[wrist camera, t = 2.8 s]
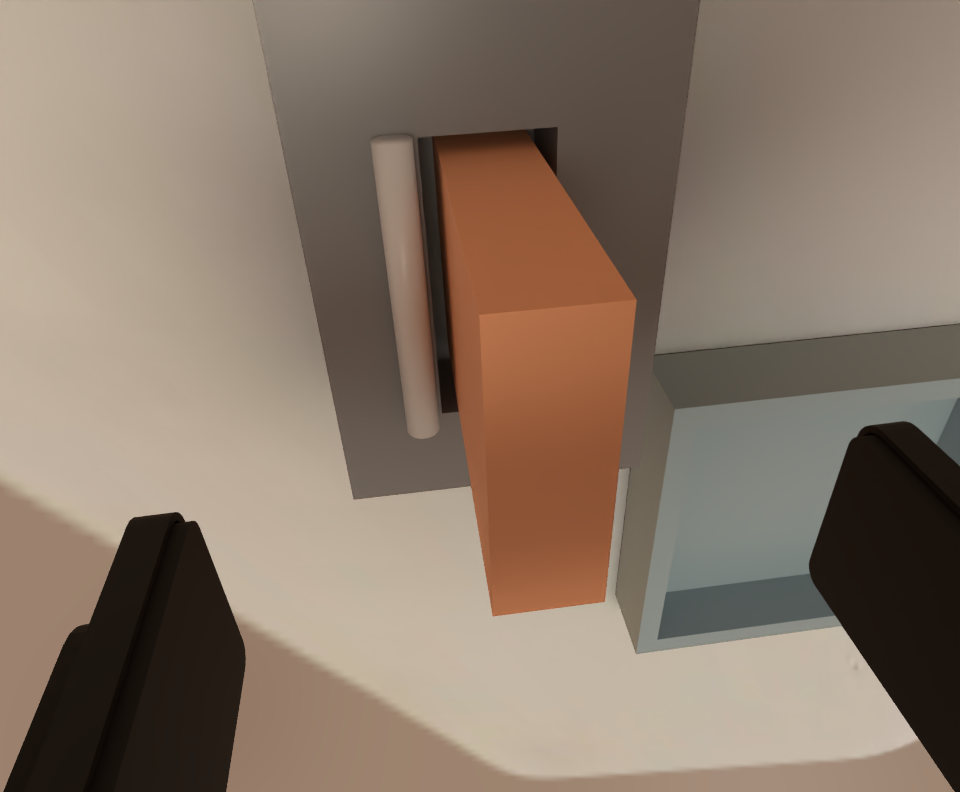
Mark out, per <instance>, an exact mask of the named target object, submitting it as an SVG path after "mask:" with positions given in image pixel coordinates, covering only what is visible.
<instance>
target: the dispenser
mask: <svg viewBox="0 0 960 792" xmlns="http://www.w3.org/2000/svg"><path fill="white" fill-rule="evenodd" d="M699 4H700V0H253V5H254V10H255V15H256V20H257V25H258V30H259V35H260V40H261V45H262V50H263V55H264V60H265V64H266V69H267V74H268V79H269V84H270V89H271V94H272V99H273V104H274V109H275V114H276V119H277V124H278V129H279V134H280V139H281V143H282V148H283V153H284V158H285V163H286V168H287V173H288V178H289V183H290V188H291V193H292V198H293V203H294V208H295V213H296V218H297V222H298V227H299V232H300V237H301V242H302V247H303V252H304V257H305V262H306V267H307V272H308V277H309V282H310V287H311V292H312V297H313V301H314V306H315V311H316V316H317V321H318V326H319V331H320V336H321V341H322V346H323V351H324V356H325V361H326V366H327V371H328V376H329V380H330V385H331V390H332V395H333V400H334V405H335V410H336V415H337V420H338V425H339V430H340V435H341V440H342V445H343V450H344V455H345V459H346V464H347V469H348V474H349V479H350V484H351V489H352V494H353V499H363V498H371V497H380V496H389V495H397V494H406V493H415V492H423V491H432V490H441V489H449V488H458V487H467V486H471V482H470V476H469V470H468V464H467V458H466V452H465V446H464V440H463V434H462V428H461V422H460V416H459V410H458V404H457V398H456V392H455V386H454V380H453V374H452V368H451V362H450V356H449V350H448V340H447V327H446V314H445V301H444V288H443V275H442V263H441V250H440V237H439V224H438V211H437V198H436V185H435V172H434V159H433V147H432V136H444V135H457V134H471V133H484V132H497V131H510V130H524V129H525V130H526V131H527V133H528V134H529V136H530V138H531V139H532V141H533V142H534V144H535V145H536V147H537V148H538V150H539V151H540V153H541V154H542V156H543V157H544V159H545V160H546V162H547V164H548V165H549V167H550V168H551V170H552V171H553V173H554V174H555V176H556V177H557V179H558V180H559V182H560V183H561V185H562V186H563V188H564V190H565V191H566V193H567V194H568V196H569V197H570V199H571V200H572V202H573V203H574V205H575V206H576V208H577V209H578V211H579V212H580V214H581V215H582V217H583V219H584V220H585V222H586V223H587V225H588V226H589V228H590V229H591V231H592V232H593V234H594V235H595V237H596V238H597V240H598V241H599V243H600V245H601V246H602V248H603V249H604V251H605V252H606V254H607V255H608V257H609V258H610V260H611V261H612V263H613V264H614V266H615V267H616V269H617V271H618V272H619V274H620V275H621V277H622V278H623V280H624V281H625V283H626V284H627V286H628V287H629V289H630V290H631V292H632V293H633V295H634V297H635V298H636V300H637V302H636V311H635V321H634V330H633V340H632V349H631V359H630V368H629V378H628V387H627V396H626V406H625V415H624V425H623V434H622V444H621V453H620V463H619V469H623V468H632V467H640V461H641V454H642V446H643V438H644V430H645V423H646V415H647V407H648V399H649V391H650V384H651V376H652V368H653V360H654V353H655V345H656V337H657V329H658V322H659V314H660V306H661V298H662V291H663V283H664V275H665V267H666V260H667V252H668V244H669V236H670V229H671V221H672V213H673V205H674V198H675V190H676V182H677V174H678V167H679V159H680V151H681V143H682V135H683V128H684V120H685V112H686V104H687V97H688V89H689V81H690V73H691V66H692V58H693V50H694V42H695V35H696V27H697V19H698V11H699Z"/></svg>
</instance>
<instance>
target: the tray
mask: <svg viewBox="0 0 960 792" xmlns="http://www.w3.org/2000/svg"><path fill="white" fill-rule="evenodd" d="M901 421H906V422H910V423H912V424H914V425H915V426H917V427H918V428H919V429H920V430H921V431H922V432H923V433H924V434H925V435H926V436H928V437H929V438H930V439H931V440H932V441H933V442H934V443H935V444H936V445H937V446H938V447H940V448H941V449H942V450H943V451H944V452H945V453H946V454H947V455H948V456H949V457H950V458H952V459H953V460H954V461H955V462H956V463H957V464H958V465H959V466H960V324H957V325H947V326H937V327H928V328H918V329H908V330H898V331H889V332H879V333H869V334H859V335H850V336H840V337H830V338H820V339H811V340H801V341H791V342H781V343H772V344H762V345H752V346H742V347H733V348H723V349H713V350H703V351H694V352H684V353H674V354H664V355H655V356H654V360H653V368H652V376H651V384H650V391H649V399H648V407H647V415H646V423H645V430H644V438H643V446H642V454H641V461H640V467H632V468H631V469H630V477H629V486H628V494H627V503H626V511H625V519H624V528H623V536H622V545H621V553H620V562H619V570H618V578H617V587H616V597H617V600H618V603H619V606H620V609H621V612H622V615H623V618H624V620H625V623H626V626H627V629H628V632H629V635H630V638H631V641H632V644H633V646H634V649H635V652H636V654H640V653H647V652H654V651H662V650H669V649H676V648H684V647H691V646H698V645H706V644H713V643H720V642H728V641H735V640H742V639H750V638H757V637H764V636H772V635H779V634H786V633H793V632H801V631H808V630H815V629H823V628H830V627H837V626H842V625H841V624H840V622H839V621H838V619H837V618H836V616H835V615H834V613H833V612H832V610H831V609H830V607H829V606H828V604H827V603H826V601H825V600H824V598H823V597H822V596H821V594H820V593H819V591H818V590H817V588H816V587H815V585H814V583H813V581H812V579H811V576H810V572H809V560H810V557H811V554H812V551H813V548H814V545H815V542H816V539H817V536H818V533H819V530H820V527H821V524H822V521H823V518H824V515H825V512H826V509H827V506H828V503H829V501H830V498H831V495H832V492H833V489H834V486H835V483H836V480H837V477H838V474H839V471H840V468H841V465H842V462H843V459H844V456H845V453H846V450H847V447H848V444H849V443H850V441H851V440H852V439H853V438H855V437H857V435H858V433H859V432H860V430H861V429H862V428H864V427H865V426H869V425H877V424H885V423H893V422H901Z"/></svg>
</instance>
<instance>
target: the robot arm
mask: <svg viewBox="0 0 960 792" xmlns="http://www.w3.org/2000/svg"><path fill="white" fill-rule="evenodd" d="M809 572H810V576H811V579H812V581H813V583H814V585H815V587H816V588H817V590H818V591H819V593H820V594H821V596H822V597H823V598H824V600H825V601H826V603H827V604H828V606H829V607H830V609H831V610H832V612H833V613H834V615H835V616H836V618H837V619H838V621H839V622H840V624H841V625H842V626H843V628H844V629H845V631H846V632H847V634H848V635H849V637H850V638H851V640H852V641H853V643H854V644H855V646H856V647H857V649H858V650H859V652H860V653H861V654H862V656H863V657H864V659H865V660H866V662H867V663H868V665H869V666H870V668H871V669H872V671H873V672H874V674H875V675H876V677H877V678H878V680H879V681H880V683H881V684H882V685H883V687H884V688H885V690H886V691H887V693H888V694H889V696H890V697H891V699H892V700H893V702H894V703H895V705H896V706H897V708H898V709H899V711H900V712H901V713H902V715H903V716H904V718H905V719H906V721H907V722H908V724H909V725H910V727H911V728H912V730H913V731H914V733H915V734H916V736H917V737H918V739H919V740H920V741H921V743H922V744H923V746H924V747H925V749H926V750H927V752H928V753H929V755H930V756H931V758H932V759H933V760H934V762H935V764H936V765H937V767H938V768H939V769H940V771H941V772H942V774H943V775H944V777H945V778H946V780H947V781H948V783H949V784H950V786H951V787H952V789H953V790H954V791H955V792H960V466H959V465H958V464H957V463H956V462H955V461H954V460H953V459H952V458H950V457H949V456H948V455H947V454H946V453H945V452H944V451H943V450H942V449H941V448H940V447H938V446H937V445H936V444H935V443H934V442H933V441H932V440H931V439H930V438H929V437H928V436H926V435H925V434H924V433H923V432H922V431H921V430H920V429H919V428H918V427H917V426H915V425H914V424H912V423H910V422H906V421H901V422H893V423H885V424H877V425H869V426H865V427H864V428H862V429H861V430H860V432H859V433H858V435H857V437H855V438H853V439H852V440H851V441H850V443H849V444H848V447H847V450H846V453H845V456H844V459H843V462H842V465H841V468H840V471H839V474H838V477H837V480H836V483H835V486H834V489H833V492H832V495H831V498H830V501H829V503H828V506H827V509H826V512H825V515H824V518H823V521H822V524H821V527H820V530H819V533H818V536H817V539H816V542H815V545H814V548H813V551H812V554H811V557H810V560H809ZM245 660H246V658H245V647H244V643H243V639H242V637H241V635H240V632H239V629H238V626H237V624H236V621H235V619H234V616H233V613H232V611H231V608H230V606H229V603H228V600H227V598H226V595H225V593H224V590H223V587H222V585H221V582H220V579H219V577H218V574H217V572H216V569H215V566H214V564H213V561H212V559H211V556H210V553H209V551H208V548H207V546H206V543H205V540H204V538H203V535H202V533H201V530H200V528H199V526H198V524H197V523H196V522H195V521H189V522H185V520H184V518H183V517H182V515H181V514H180V513H178V512H174V513H166V514H158V515H150V516H142V517H134V518H133V519H131V520H130V521H129V523H128V525H127V527H126V529H125V532H124V535H123V537H122V540H121V542H120V545H119V548H118V550H117V553H116V555H115V558H114V561H113V563H112V566H111V569H110V571H109V574H108V576H107V579H106V582H105V584H104V587H103V590H102V592H101V595H100V597H99V600H98V602H97V605H96V608H95V610H94V613H93V616H92V618H91V621H90V623H89V624H86V625H81V626H78V627H76V628H75V629H74V630H73V631H72V632H71V633H70V634H69V636H68V638H67V640H66V642H65V644H64V645H63V647H62V650H61V652H60V654H59V657H58V659H57V662H56V664H55V667H54V669H53V672H52V674H51V676H50V679H49V681H48V684H47V686H46V689H45V691H44V694H43V696H42V698H41V701H40V703H39V706H38V708H37V711H36V713H35V716H34V718H33V721H32V723H31V725H30V728H29V730H28V733H27V735H26V738H25V740H24V742H23V745H22V747H21V750H20V752H19V755H18V757H17V760H16V762H15V764H14V767H13V769H12V772H11V774H10V777H9V779H8V782H7V784H6V787H5V789H4V792H226V788H227V782H228V775H229V768H230V762H231V756H232V750H233V743H234V736H235V730H236V724H237V717H238V711H239V704H240V698H241V691H242V685H243V678H244V672H245Z"/></svg>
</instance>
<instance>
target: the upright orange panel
mask: <svg viewBox="0 0 960 792" xmlns="http://www.w3.org/2000/svg"><path fill="white" fill-rule="evenodd" d="M432 147H433V159H434V172H435V185H436V198H437V211H438V224H439V237H440V250H441V263H442V275H443V288H444V301H445V314H446V327H447V340H448V350H449V356H450V362H451V368H452V374H453V380H454V386H455V392H456V398H457V404H458V410H459V416H460V422H461V428H462V434H463V440H464V446H465V452H466V458H467V464H468V470H469V476H470V482H471V488H472V494H473V500H474V506H475V512H476V518H477V524H478V530H479V536H480V542H481V548H482V554H483V560H484V566H485V572H486V578H487V584H488V590H489V596H490V602H491V608H492V614H493V616H499V615H507V614H514V613H522V612H530V611H537V610H545V609H553V608H560V607H568V606H576V605H584V604H591V603H599V602H605V596H606V586H607V577H608V567H609V558H610V548H611V539H612V529H613V520H614V510H615V501H616V491H617V482H618V472H619V463H620V453H621V444H622V434H623V425H624V415H625V406H626V396H627V387H628V378H629V368H630V359H631V349H632V340H633V330H634V321H635V311H636V302H637V300H636V298H635V297H634V295H633V293H632V292H631V290H630V289H629V287H628V286H627V284H626V283H625V281H624V280H623V278H622V277H621V275H620V274H619V272H618V271H617V269H616V267H615V266H614V264H613V263H612V261H611V260H610V258H609V257H608V255H607V254H606V252H605V251H604V249H603V248H602V246H601V245H600V243H599V241H598V240H597V238H596V237H595V235H594V234H593V232H592V231H591V229H590V228H589V226H588V225H587V223H586V222H585V220H584V219H583V217H582V215H581V214H580V212H579V211H578V209H577V208H576V206H575V205H574V203H573V202H572V200H571V199H570V197H569V196H568V194H567V193H566V191H565V190H564V188H563V186H562V185H561V183H560V182H559V180H558V179H557V177H556V176H555V174H554V173H553V171H552V170H551V168H550V167H549V165H548V164H547V162H546V160H545V159H544V157H543V156H542V154H541V153H540V151H539V150H538V148H537V147H536V145H535V144H534V142H533V141H532V139H531V138H530V136H529V134H528V133H527V131H526V130H525V129H524V130H510V131H497V132H484V133H471V134H457V135H444V136H432Z"/></svg>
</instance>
